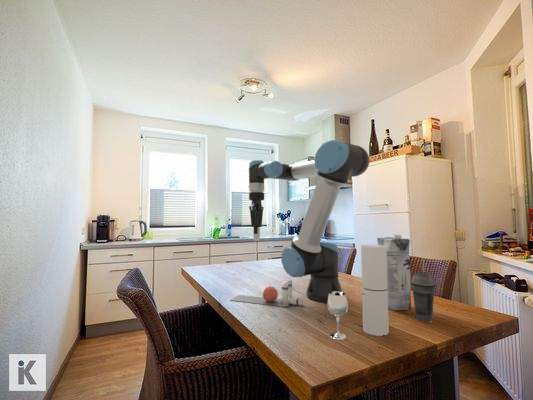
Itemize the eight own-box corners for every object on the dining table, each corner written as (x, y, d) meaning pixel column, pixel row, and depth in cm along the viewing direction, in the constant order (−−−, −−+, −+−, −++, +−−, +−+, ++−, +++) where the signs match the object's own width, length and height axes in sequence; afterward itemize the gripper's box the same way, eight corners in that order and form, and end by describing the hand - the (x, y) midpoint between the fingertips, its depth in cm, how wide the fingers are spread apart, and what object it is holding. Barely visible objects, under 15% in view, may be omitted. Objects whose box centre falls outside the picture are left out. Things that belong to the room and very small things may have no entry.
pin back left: (289, 305, 106) (289, 282, 107) (287, 307, 104) (287, 284, 105) (283, 304, 107) (283, 282, 108) (281, 306, 105) (281, 283, 105)
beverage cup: (430, 316, 94) (428, 256, 96) (441, 324, 87) (439, 260, 88) (408, 315, 95) (406, 256, 96) (417, 323, 88) (415, 259, 89)
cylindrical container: (377, 337, 78) (374, 247, 79) (357, 328, 84) (356, 245, 86) (394, 332, 81) (391, 246, 82) (374, 324, 87) (372, 244, 89)
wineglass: (325, 332, 81) (324, 291, 82) (344, 331, 82) (343, 290, 82) (331, 341, 76) (330, 296, 76) (351, 340, 76) (351, 296, 77)
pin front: (282, 302, 110) (303, 304, 107) (280, 304, 108) (301, 306, 105) (282, 296, 110) (303, 298, 107) (280, 297, 108) (301, 299, 105)
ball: (273, 281, 114) (263, 291, 115) (268, 285, 108) (257, 294, 109) (282, 293, 112) (272, 302, 113) (278, 297, 106) (267, 307, 108)
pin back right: (292, 301, 111) (292, 280, 112) (291, 303, 109) (291, 281, 109) (286, 300, 112) (286, 279, 112) (285, 302, 110) (284, 280, 110)
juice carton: (394, 312, 98) (391, 235, 100) (376, 303, 108) (374, 234, 110) (415, 310, 100) (413, 235, 102) (395, 301, 110) (393, 233, 112)
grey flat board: (292, 301, 111) (292, 300, 111) (286, 307, 104) (286, 306, 104) (238, 295, 120) (238, 294, 120) (230, 300, 112) (230, 300, 112)
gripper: (254, 193, 143) (254, 239, 142) (243, 191, 131) (243, 241, 130) (268, 193, 141) (268, 239, 139) (258, 190, 128) (258, 242, 127)
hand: (256, 240), depth 135 cm, fingers closed
